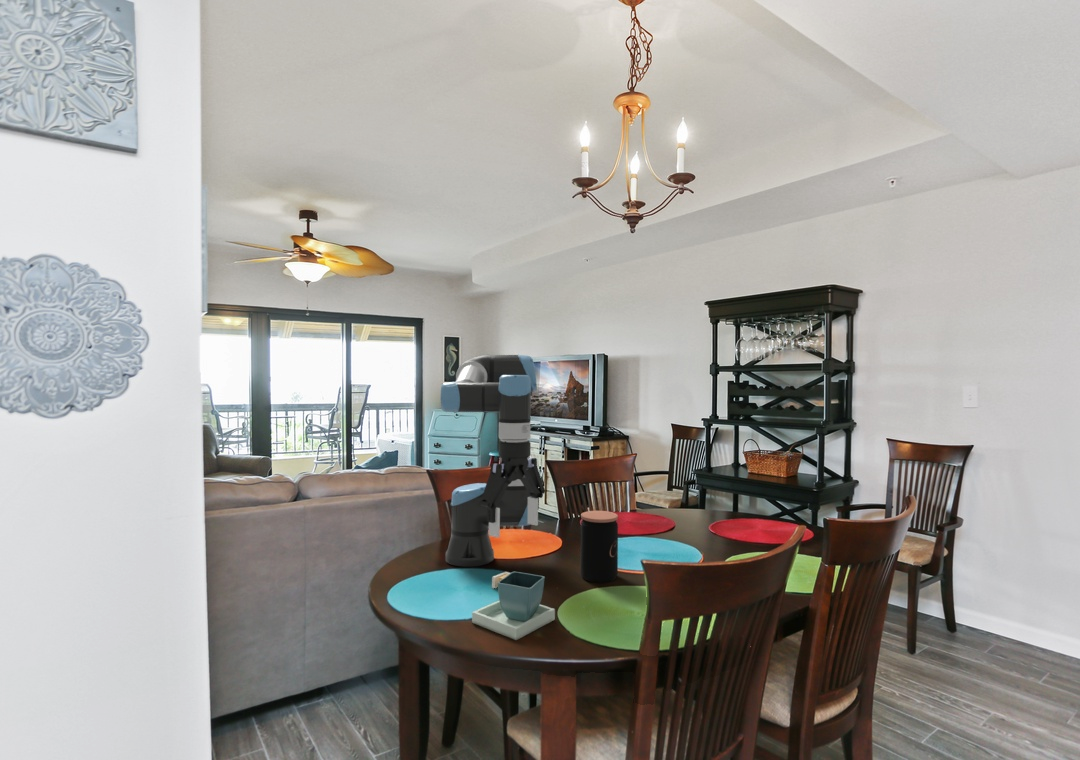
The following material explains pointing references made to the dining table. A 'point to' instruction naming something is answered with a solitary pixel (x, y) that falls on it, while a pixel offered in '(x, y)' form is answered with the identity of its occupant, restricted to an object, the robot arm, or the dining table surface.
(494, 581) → the clip
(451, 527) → the robot arm
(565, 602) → the dining table surface
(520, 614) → the flower pot
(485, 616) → the shallow square tray
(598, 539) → the coffee jar
